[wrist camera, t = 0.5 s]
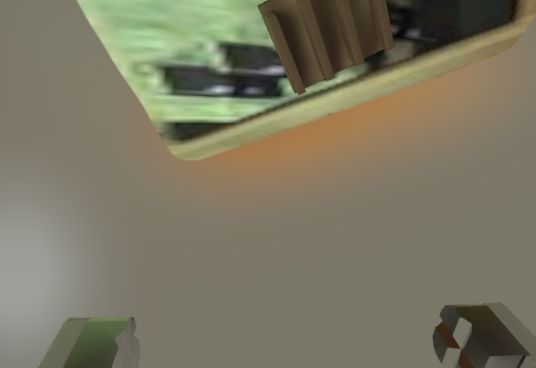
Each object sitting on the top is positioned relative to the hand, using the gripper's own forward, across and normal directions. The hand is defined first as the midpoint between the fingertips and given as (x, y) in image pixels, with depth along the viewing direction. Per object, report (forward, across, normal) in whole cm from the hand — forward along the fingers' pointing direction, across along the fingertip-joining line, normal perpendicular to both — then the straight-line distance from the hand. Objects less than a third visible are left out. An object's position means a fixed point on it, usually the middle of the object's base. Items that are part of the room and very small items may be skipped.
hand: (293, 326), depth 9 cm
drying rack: (+49, -12, -6) cm, 51 cm away
